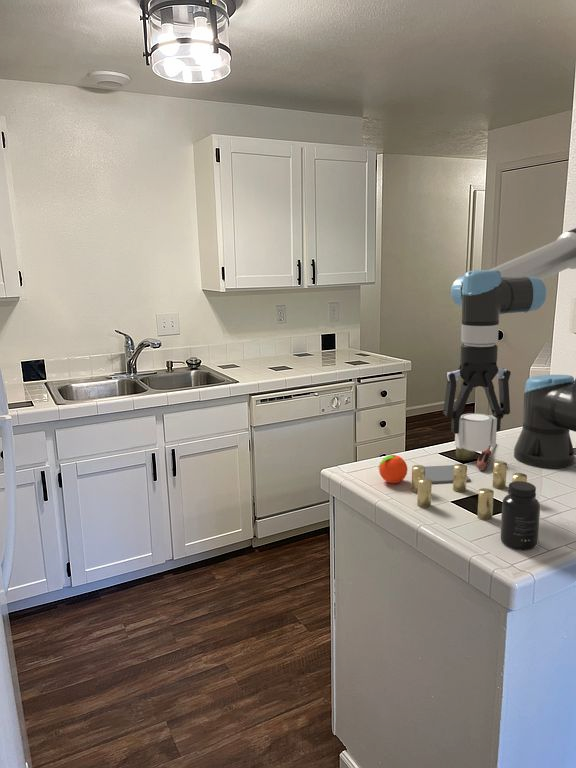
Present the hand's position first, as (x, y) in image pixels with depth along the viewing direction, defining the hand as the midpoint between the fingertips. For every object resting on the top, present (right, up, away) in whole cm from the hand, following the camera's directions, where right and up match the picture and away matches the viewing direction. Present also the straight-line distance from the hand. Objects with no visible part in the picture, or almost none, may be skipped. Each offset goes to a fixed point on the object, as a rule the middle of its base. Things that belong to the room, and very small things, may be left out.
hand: (475, 445), depth 129 cm
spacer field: (0, -13, +3) cm, 14 cm away
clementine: (-16, -11, +16) cm, 25 cm away
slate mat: (-2, -10, +19) cm, 22 cm away
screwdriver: (+14, -7, +32) cm, 35 cm away
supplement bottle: (+4, -18, -15) cm, 24 cm away
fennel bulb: (+7, -7, +30) cm, 31 cm away
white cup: (0, -1, 0) cm, 1 cm away
